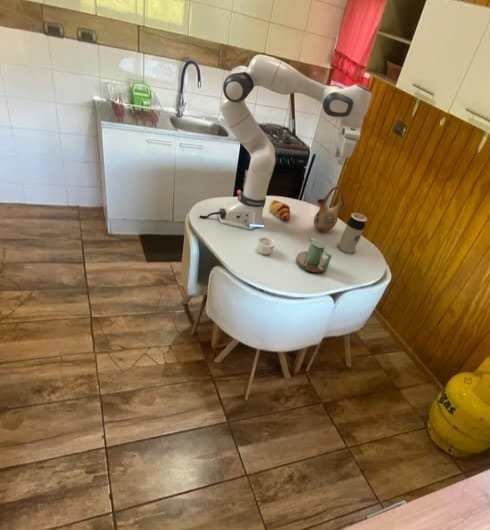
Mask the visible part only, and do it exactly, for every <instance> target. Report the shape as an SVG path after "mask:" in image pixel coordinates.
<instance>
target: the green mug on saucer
mask: <svg viewBox="0 0 490 530" xmlns="http://www.w3.org/2000/svg"><path fill="white" fill-rule="evenodd" d="M309 241H310V244H309V247H308V250H306V251H300V252H298V253H297V254H296V258H295V261H296V263H297V264H298V265H299V266H300V267H301V268H302V269H303V268H304V269H303V270H305V269H306V270H305V271H307V270H308V271H307V272H309V271H311V272H310V273H314V272H316V273H323V272H325V271H326V270H327V269H328V267H329V264H330V262H331V259H332V257H333V256H332V254H331V253H328V252H327V251H326V246H327V244H326V243H325V242H324V241H322V240H320V239H316V238H315V237H311V238H309ZM323 255H325V256H326V258H325V257H324V256H323Z"/></svg>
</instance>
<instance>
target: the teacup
mask: <svg viewBox="0 0 490 530" xmlns="http://www.w3.org/2000/svg"><path fill="white" fill-rule="evenodd" d="M275 246H276V242H275V241H274V240H273V239H272V238H271V237H268V236H260V237H259V238H258V239H257V241H256V249H257V251H258V252H259V253H260V254H262V255H269V254H271V253H272V252H273V251H274V248H275Z"/></svg>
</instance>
